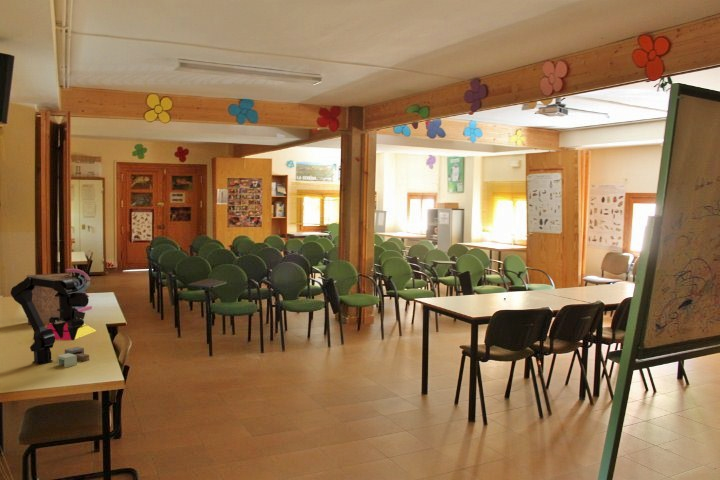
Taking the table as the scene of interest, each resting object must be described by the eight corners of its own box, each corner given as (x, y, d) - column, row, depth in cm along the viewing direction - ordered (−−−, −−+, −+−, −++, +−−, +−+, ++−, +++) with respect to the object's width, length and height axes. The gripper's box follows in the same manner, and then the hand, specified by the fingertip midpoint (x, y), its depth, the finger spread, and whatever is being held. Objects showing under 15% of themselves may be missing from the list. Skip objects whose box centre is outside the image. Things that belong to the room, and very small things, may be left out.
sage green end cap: (65, 367, 273) (65, 357, 272) (57, 365, 276) (57, 355, 276) (76, 364, 277) (76, 355, 277) (68, 362, 281) (68, 353, 281)
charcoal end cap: (84, 357, 290) (83, 348, 290) (71, 360, 285) (71, 351, 285) (77, 355, 293) (77, 346, 293) (64, 358, 288) (64, 349, 287)
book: (27, 325, 365) (26, 276, 363) (28, 322, 373) (26, 275, 371) (73, 321, 377) (71, 274, 375) (72, 318, 385) (71, 272, 383)
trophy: (91, 308, 419) (90, 266, 417) (91, 312, 404) (89, 269, 402) (60, 310, 412) (58, 268, 409) (58, 315, 396) (56, 270, 394)
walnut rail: (83, 361, 283) (83, 356, 282) (71, 358, 288) (71, 353, 288) (89, 360, 285) (89, 354, 285) (77, 357, 290) (77, 352, 290)
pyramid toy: (98, 331, 350) (97, 307, 349) (72, 341, 325) (71, 316, 324) (58, 330, 352) (57, 307, 351) (30, 340, 328) (29, 315, 327)
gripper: (93, 305, 278) (95, 338, 279) (70, 301, 287) (71, 333, 289) (71, 309, 268) (73, 342, 269) (48, 305, 278) (49, 338, 279)
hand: (67, 339), depth 277 cm, fingers open, 9 cm apart
